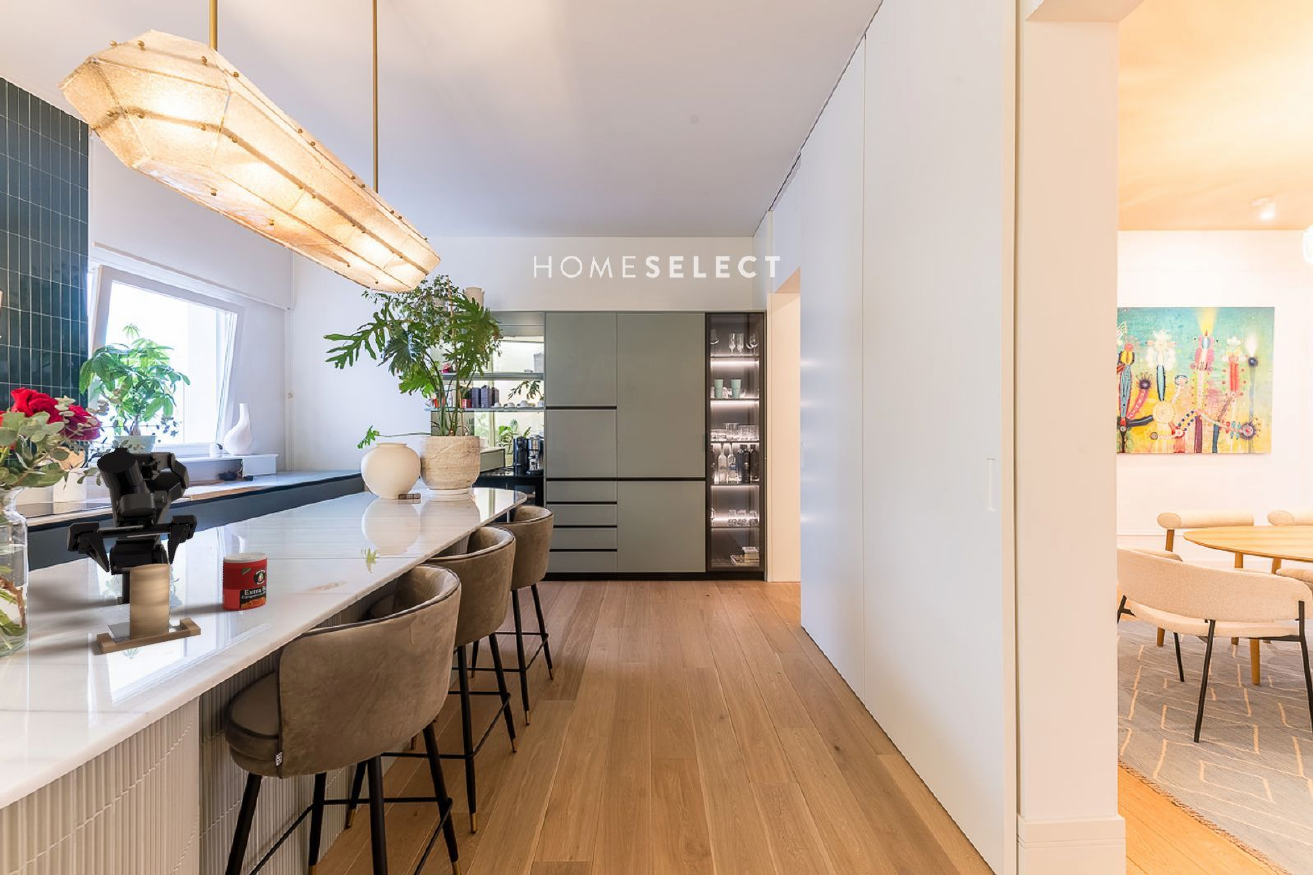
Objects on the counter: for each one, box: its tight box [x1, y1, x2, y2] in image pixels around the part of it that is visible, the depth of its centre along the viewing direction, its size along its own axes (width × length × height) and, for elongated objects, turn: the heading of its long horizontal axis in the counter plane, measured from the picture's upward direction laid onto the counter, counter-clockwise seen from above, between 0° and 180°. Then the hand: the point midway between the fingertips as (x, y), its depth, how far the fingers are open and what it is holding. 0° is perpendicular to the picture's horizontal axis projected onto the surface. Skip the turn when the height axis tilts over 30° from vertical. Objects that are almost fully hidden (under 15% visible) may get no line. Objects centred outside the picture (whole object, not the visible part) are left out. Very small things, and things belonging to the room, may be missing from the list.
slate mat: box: [108, 621, 175, 639], centre depth 110 cm, size 10×8×1 cm
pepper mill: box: [128, 563, 171, 641], centre depth 105 cm, size 5×5×13 cm
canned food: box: [221, 551, 268, 612], centre depth 124 cm, size 8×8×11 cm
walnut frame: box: [96, 617, 202, 655], centre depth 105 cm, size 9×13×2 cm, turn 140°
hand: (141, 567), depth 112 cm, fingers open, 9 cm apart
